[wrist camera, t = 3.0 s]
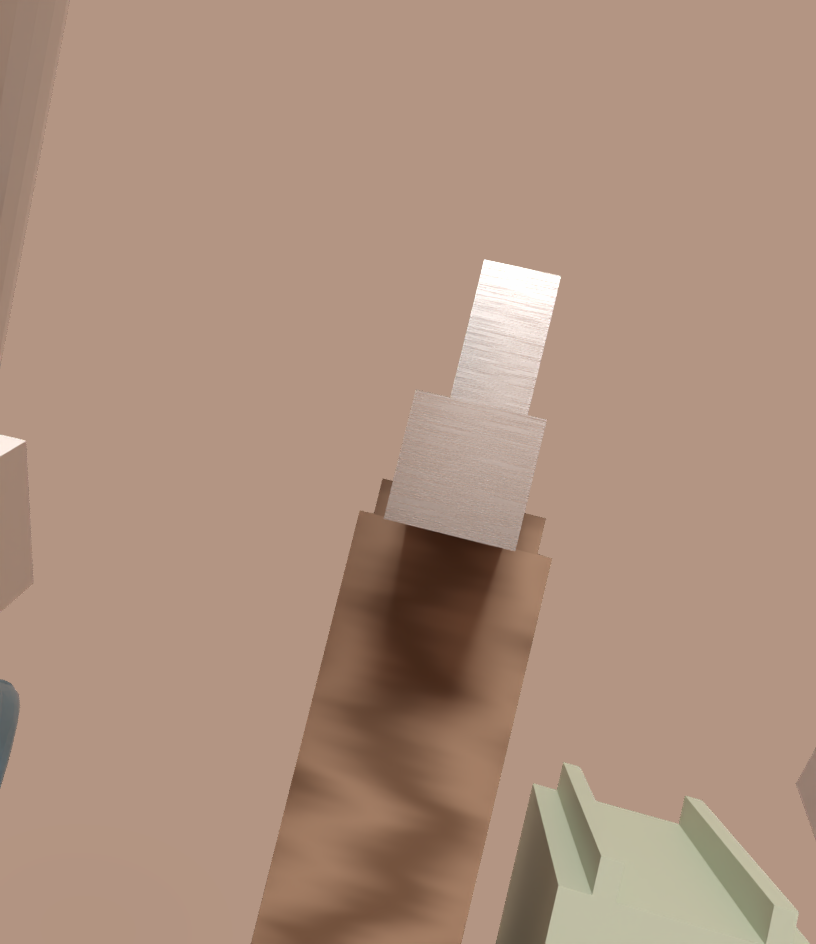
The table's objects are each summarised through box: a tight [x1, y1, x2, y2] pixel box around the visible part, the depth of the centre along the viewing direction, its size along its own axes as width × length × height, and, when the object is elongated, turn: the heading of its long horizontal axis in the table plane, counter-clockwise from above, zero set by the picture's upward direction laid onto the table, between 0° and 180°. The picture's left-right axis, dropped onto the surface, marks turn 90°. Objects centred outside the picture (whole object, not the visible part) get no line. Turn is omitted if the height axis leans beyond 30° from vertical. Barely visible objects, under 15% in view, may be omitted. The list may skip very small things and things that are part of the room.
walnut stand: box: [251, 479, 552, 944], centre depth 36 cm, size 8×11×34 cm
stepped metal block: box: [384, 260, 561, 551], centre depth 33 cm, size 20×4×14 cm, turn 175°
